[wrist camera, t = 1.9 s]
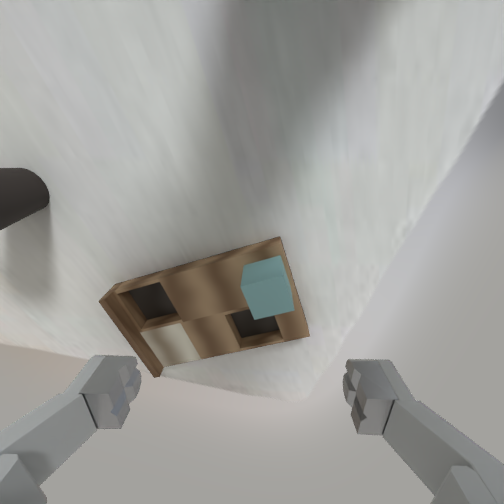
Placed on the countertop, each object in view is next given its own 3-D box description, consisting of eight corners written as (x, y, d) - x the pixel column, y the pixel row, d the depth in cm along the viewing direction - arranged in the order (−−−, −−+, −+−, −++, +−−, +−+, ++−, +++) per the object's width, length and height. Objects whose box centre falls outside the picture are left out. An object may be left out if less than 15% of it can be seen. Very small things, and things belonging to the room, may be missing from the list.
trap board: (280, 236, 33) (282, 250, 29) (307, 325, 39) (312, 345, 36) (115, 284, 38) (98, 301, 34) (163, 356, 44) (154, 377, 40)
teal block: (280, 255, 32) (283, 275, 27) (290, 286, 34) (294, 310, 29) (243, 265, 32) (240, 286, 28) (255, 295, 34) (254, 319, 30)
